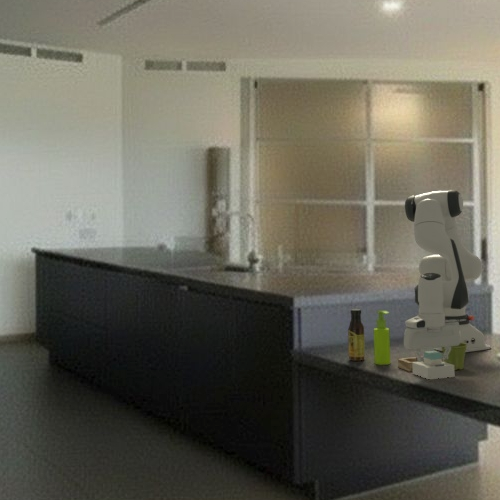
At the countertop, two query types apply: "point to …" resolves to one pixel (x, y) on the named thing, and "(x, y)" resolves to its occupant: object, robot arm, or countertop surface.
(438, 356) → the plug
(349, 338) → the sauce bottle
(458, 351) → the plant pot
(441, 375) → the port
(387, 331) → the soap dispenser
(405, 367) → the brown wooden square frame
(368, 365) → the countertop surface
